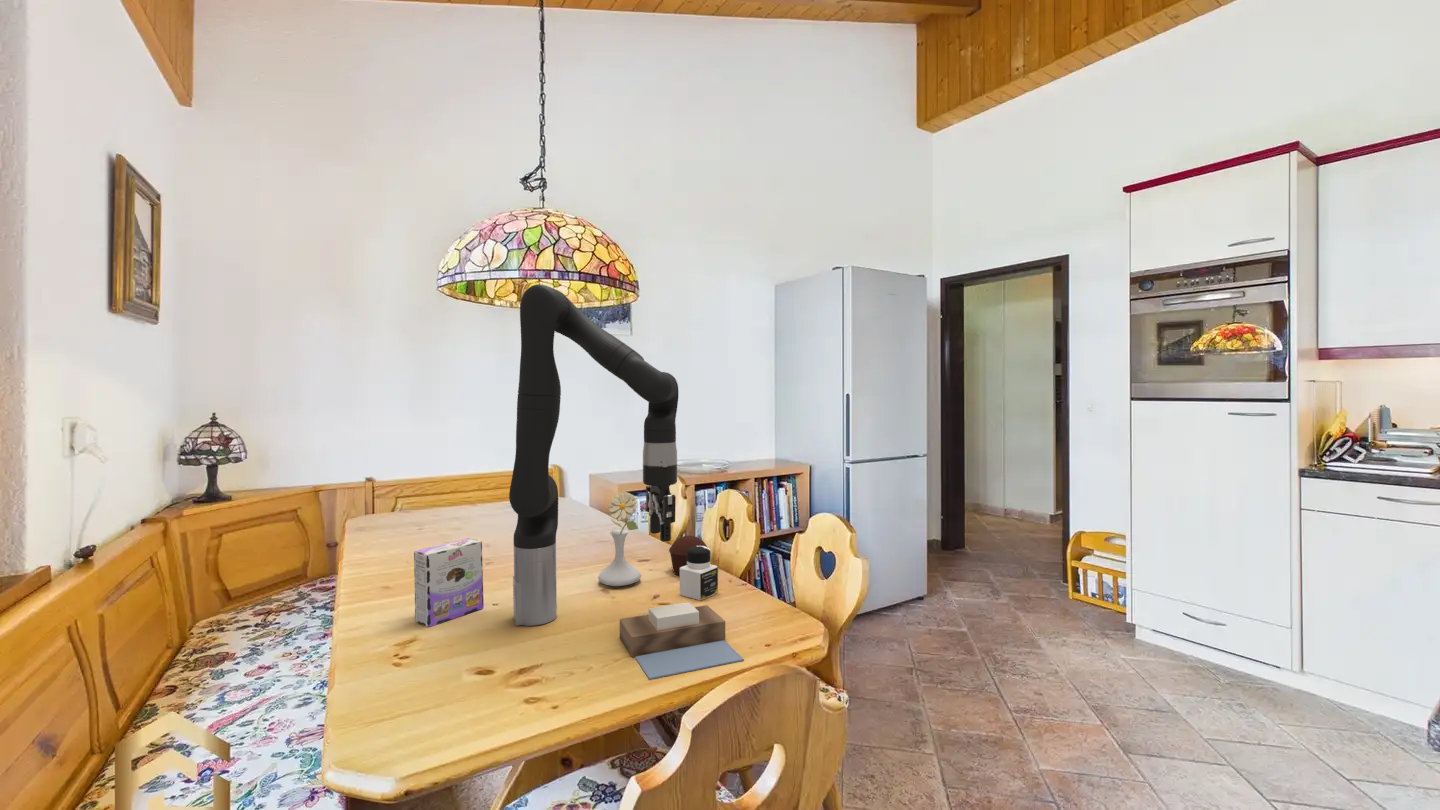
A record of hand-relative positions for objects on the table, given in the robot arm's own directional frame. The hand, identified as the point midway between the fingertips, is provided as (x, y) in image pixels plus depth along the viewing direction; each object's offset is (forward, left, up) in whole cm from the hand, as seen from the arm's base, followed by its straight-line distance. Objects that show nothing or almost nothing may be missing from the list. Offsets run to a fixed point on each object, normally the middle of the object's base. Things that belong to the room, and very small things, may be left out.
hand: (660, 536), depth 134 cm
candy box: (-43, +25, -20) cm, 54 cm away
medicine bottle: (+15, +15, -20) cm, 29 cm away
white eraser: (0, -9, -16) cm, 18 cm away
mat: (0, -18, -20) cm, 27 cm away
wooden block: (0, -8, -20) cm, 21 cm away
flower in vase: (-1, +31, -20) cm, 37 cm away
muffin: (+19, +33, -20) cm, 43 cm away
